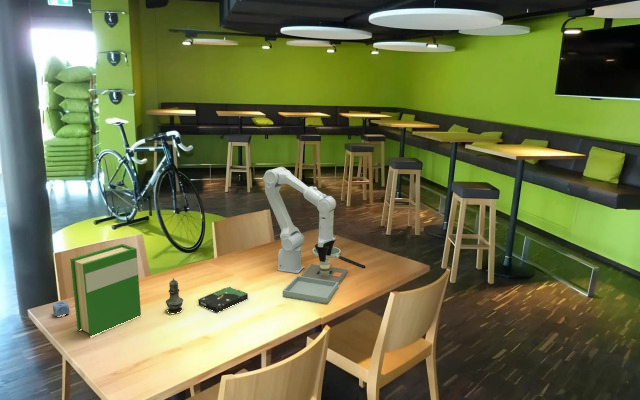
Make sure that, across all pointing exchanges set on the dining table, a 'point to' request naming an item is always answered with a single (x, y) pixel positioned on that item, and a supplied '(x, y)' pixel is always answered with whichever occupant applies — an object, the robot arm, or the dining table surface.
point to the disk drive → (223, 299)
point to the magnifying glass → (336, 253)
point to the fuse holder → (314, 271)
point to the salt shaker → (174, 298)
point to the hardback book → (106, 288)
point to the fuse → (325, 268)
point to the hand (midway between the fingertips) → (325, 258)
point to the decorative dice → (61, 308)
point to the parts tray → (310, 289)
